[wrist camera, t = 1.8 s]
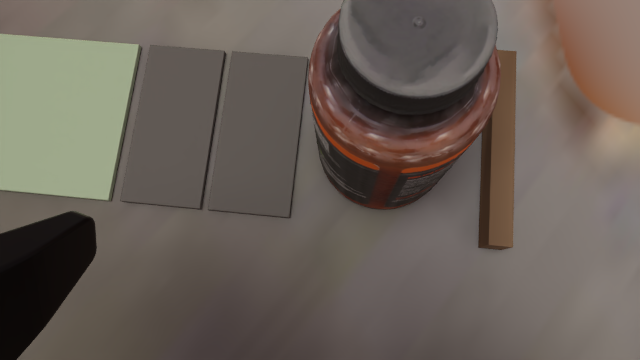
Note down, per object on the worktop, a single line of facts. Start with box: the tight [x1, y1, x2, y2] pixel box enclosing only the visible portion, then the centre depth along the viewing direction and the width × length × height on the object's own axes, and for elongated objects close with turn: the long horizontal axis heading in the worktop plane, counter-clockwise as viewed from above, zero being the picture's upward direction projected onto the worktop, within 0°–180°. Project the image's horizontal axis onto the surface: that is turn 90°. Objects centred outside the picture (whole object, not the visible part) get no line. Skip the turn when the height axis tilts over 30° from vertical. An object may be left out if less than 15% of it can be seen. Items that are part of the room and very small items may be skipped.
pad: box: [0, 34, 141, 201], centre depth 24 cm, size 9×8×1 cm
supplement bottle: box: [308, 0, 501, 209], centre depth 17 cm, size 6×6×11 cm
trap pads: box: [120, 45, 308, 218], centre depth 23 cm, size 8×8×1 cm
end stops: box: [479, 50, 516, 250], centre depth 23 cm, size 28×9×2 cm, turn 84°
